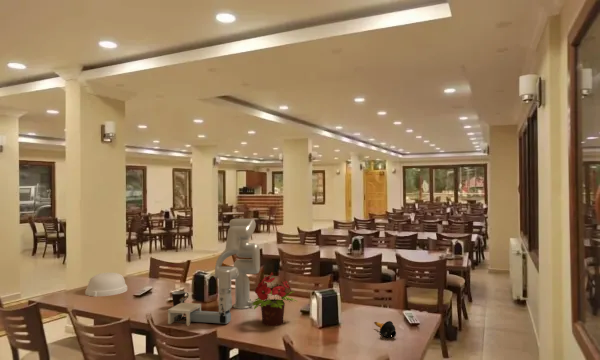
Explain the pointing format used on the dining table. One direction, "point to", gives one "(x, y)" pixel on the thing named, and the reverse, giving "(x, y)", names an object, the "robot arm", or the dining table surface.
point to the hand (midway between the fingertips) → (225, 320)
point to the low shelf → (178, 310)
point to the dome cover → (106, 285)
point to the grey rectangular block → (208, 317)
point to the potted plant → (271, 302)
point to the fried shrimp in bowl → (386, 329)
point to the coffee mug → (178, 297)
